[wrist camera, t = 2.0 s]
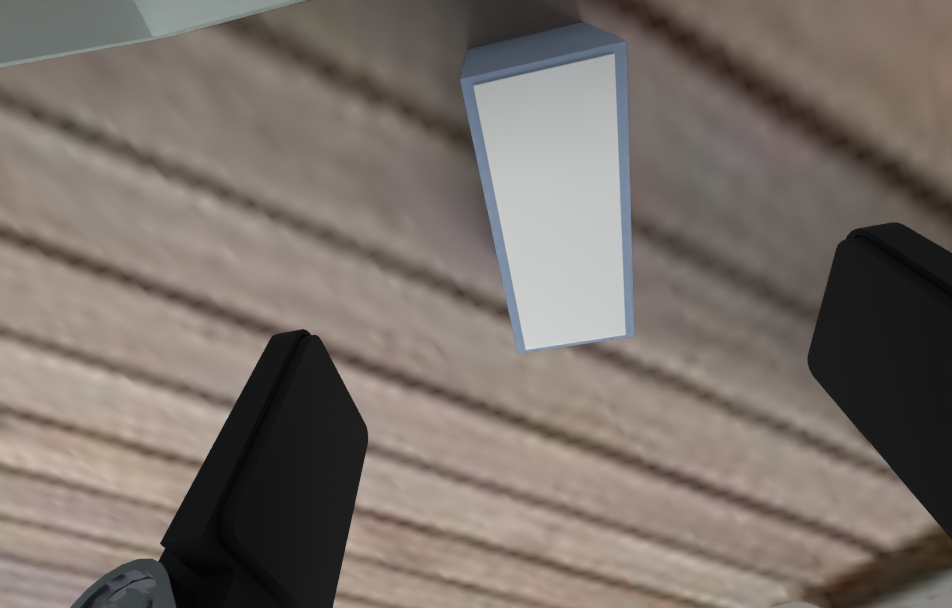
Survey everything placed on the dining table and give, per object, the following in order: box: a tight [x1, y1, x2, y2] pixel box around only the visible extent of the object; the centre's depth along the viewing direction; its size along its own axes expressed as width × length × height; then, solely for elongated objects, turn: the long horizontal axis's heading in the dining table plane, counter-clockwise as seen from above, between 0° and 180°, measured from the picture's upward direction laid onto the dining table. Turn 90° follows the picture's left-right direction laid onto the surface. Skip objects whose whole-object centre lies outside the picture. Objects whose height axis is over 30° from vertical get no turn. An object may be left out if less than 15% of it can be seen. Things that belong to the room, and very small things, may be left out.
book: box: [460, 22, 634, 354], centre depth 16 cm, size 4×9×6 cm, turn 12°
